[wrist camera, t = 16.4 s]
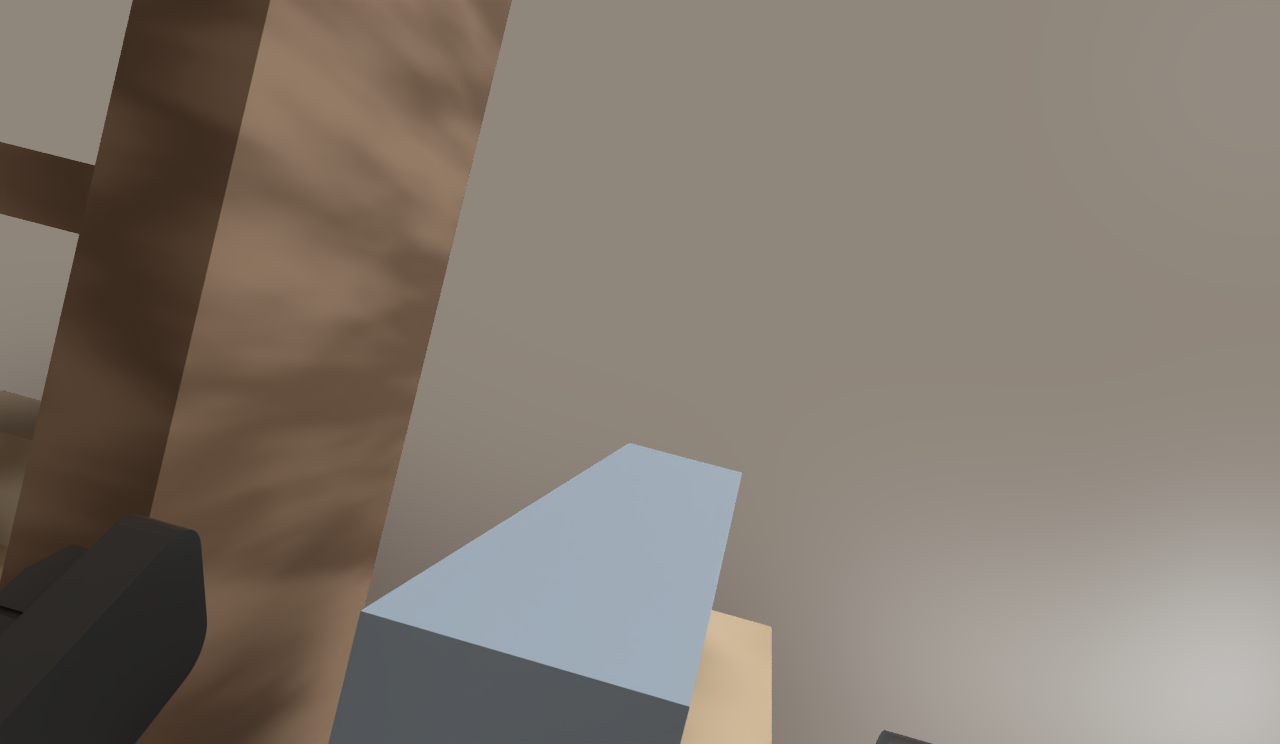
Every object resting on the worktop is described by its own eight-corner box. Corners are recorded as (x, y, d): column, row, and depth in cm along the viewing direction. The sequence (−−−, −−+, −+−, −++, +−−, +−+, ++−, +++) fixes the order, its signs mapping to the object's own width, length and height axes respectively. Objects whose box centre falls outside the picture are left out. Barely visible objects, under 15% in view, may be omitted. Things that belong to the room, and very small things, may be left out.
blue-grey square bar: (282, 932, 13) (360, 611, 13) (601, 554, 38) (629, 443, 38) (604, 1038, 13) (689, 706, 12) (713, 585, 37) (741, 473, 37)
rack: (-608, 1296, 26) (-255, -389, 24) (-83, 939, 42) (153, -93, 40) (-84, 1512, 24) (334, -274, 23) (254, 1055, 40) (514, -13, 38)
